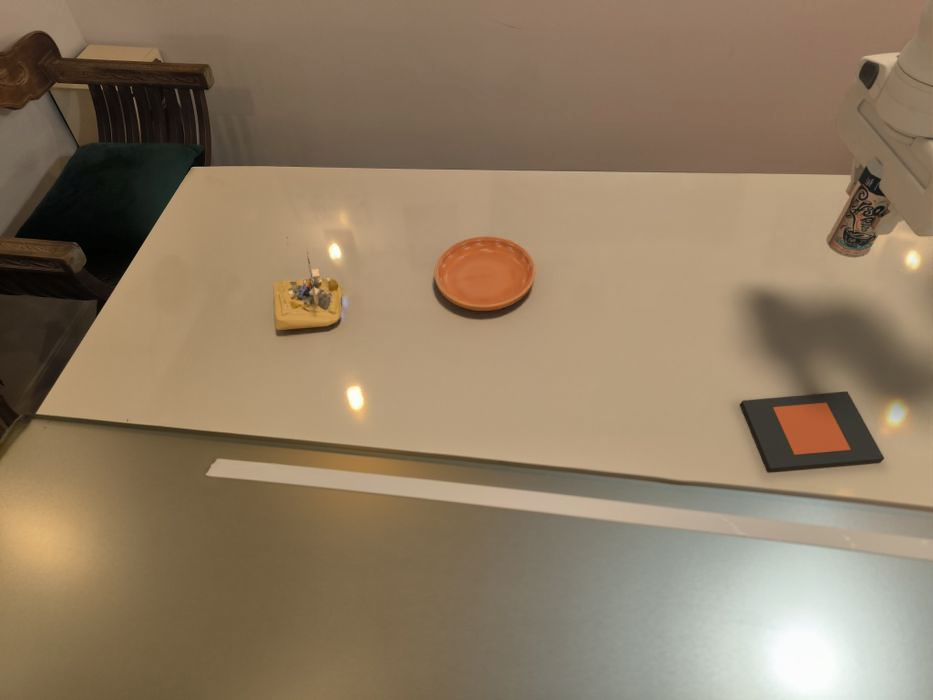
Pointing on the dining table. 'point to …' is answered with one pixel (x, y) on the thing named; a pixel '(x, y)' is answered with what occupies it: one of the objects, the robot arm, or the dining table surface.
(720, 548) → the dining table surface
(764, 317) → the dining table surface
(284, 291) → the cake
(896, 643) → the dining table surface
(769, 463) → the mat
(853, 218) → the beer can
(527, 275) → the saucer
